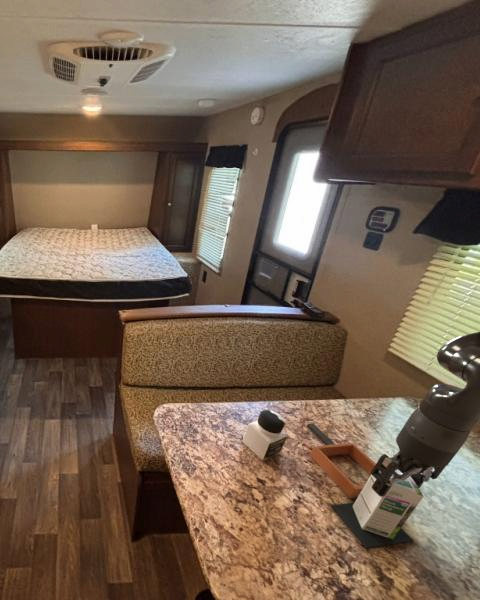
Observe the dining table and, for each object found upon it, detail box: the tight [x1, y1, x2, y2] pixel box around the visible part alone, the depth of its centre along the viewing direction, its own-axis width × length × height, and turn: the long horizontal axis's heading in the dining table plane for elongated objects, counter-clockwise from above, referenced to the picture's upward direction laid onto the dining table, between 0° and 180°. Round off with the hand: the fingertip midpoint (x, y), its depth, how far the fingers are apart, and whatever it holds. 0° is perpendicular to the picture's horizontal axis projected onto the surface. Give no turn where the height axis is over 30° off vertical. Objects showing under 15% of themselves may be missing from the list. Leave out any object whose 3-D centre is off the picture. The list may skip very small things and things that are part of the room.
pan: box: [306, 422, 377, 499], centre depth 87 cm, size 13×21×4 cm, turn 8°
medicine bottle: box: [242, 409, 288, 462], centre depth 88 cm, size 7×7×12 cm
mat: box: [330, 502, 414, 549], centre depth 72 cm, size 12×9×1 cm
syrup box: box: [353, 470, 424, 539], centre depth 69 cm, size 6×6×14 cm
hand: (393, 490), depth 68 cm, fingers closed on syrup box, 7 cm apart
